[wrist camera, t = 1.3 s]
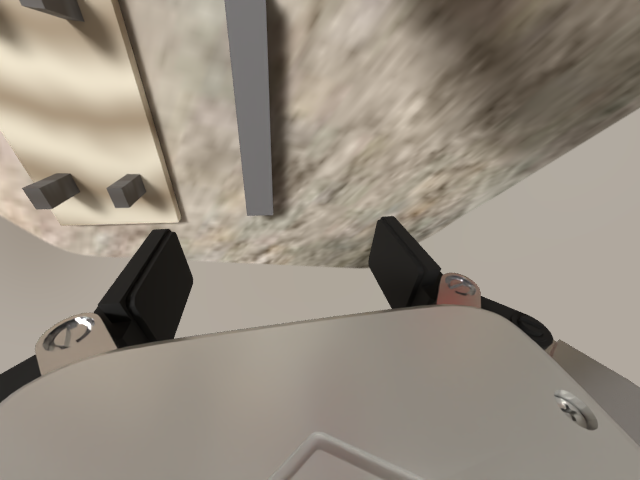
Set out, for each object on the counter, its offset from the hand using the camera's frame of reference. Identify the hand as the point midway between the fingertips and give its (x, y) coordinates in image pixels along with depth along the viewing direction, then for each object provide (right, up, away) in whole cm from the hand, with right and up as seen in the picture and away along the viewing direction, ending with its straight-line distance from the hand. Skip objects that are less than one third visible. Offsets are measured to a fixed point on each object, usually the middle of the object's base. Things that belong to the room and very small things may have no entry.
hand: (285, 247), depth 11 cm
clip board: (-21, +13, +10) cm, 27 cm away
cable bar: (-5, +14, +14) cm, 20 cm away
